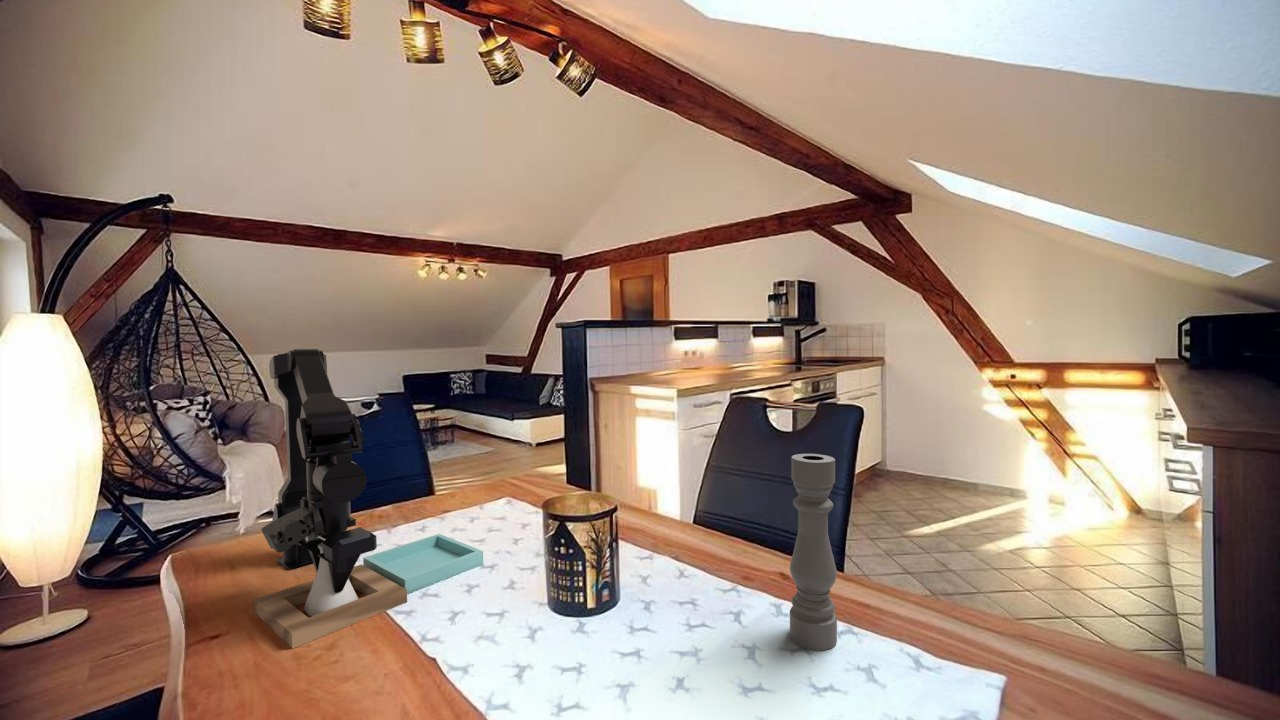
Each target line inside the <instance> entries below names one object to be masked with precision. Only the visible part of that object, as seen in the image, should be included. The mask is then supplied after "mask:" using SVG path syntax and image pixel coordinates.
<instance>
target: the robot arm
mask: <svg viewBox="0 0 1280 720" xmlns="http://www.w3.org/2000/svg"><path fill="white" fill-rule="evenodd" d="M327 362H328V361H327V355H326V354H324V352H323V350H320V349H318V348H294V349H292V350H288V351H287V352H285V353H277V355H273V356H272V357H271V358H270V360H269V366H268V367H269V378H270V379H271V380H273V385H274V388H275V389H274V390H276V391H277V392H278V393H279V395H280V396H281V397H282V399H283V400H284V407H285V408H284V409H285V411H284V412H285V438H286V440H285V441H286V443H285V444H286V465H287V466H286V468H287V477H286V480H285V481H284V483H283V485H282V486H281V487H280V489H279V490H278V493H277V499H278V500H277V502H278V503H275V504H274V507H273V508H274V509H273V514H272V521H271V522H270V523H268V524H266V525H264V526H263V527H262V528H261V529H260V530H261V533H262V535H263V536H264V539H265V540H266V541H267V544H268V546H269V548H271V549H273V550H275V552H276V553H283V556H282V557H279V558H276V562H277V563H279V565H281V566H282V567H284V568H286V569H287V570H293V569H296V568H299V567H303V566H307V565H309V564H313V566H314V569H315V572H316V573H317V571H318V568H319V562H320V558H322V559H324V560H325V561H327V562H328V565H329V570H330V575H331V581H332V585H333V590H334V592H335V593H338V592H341V591H342V590H343V589H344V587H345V584H346V582H347V580H348V578H349V576H350V574H351V572H352V570H353V568H354V567H355V566H356V563H358V560H359V558H360V556H361V555H362V554H366V553H369V552H373V551H375V550H376V549H377V548H378V547H377V546H378V544H377V535H375V533H373V532H371V531H369V530H367V529H365V528H363V527H356V525H357V519H356V518H354V517H352V516H351V502H352V501H355V500H356V499H357V498H358V497H359V496H361V495H362V493H364V490H365V488H366V486H367V483H368V482H367V481H368V477H367V473H366V472H365V470H364V469H363V467H362V466H360V465H359V464H357V463H356V462H354V461H353V454H355V453H363V449H364V448H363V446H364V444H365V438H364V434H363V431H362V428H361V424H360V420H359V419H358V418H357V416H356V414H355V413H352V411H351V408H350V407H349V404H348V402H347V401H346V400H344V399H342V398H340V397H338V396H336V395H335V393H334V389H333V387H332V384H331V382H330V379H329V376H328V366H327V365H328V364H327ZM350 439H351V440H350ZM350 441H351V442H350ZM351 527H354V528H352V529H348V528H351ZM355 527H356V528H355ZM321 543H322V545H323V553H321V554H320V549H319V548H318V545H319V544H321Z"/></svg>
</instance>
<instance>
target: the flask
mask: <svg viewBox="0 0 1280 720" xmlns="http://www.w3.org/2000/svg"><path fill="white" fill-rule="evenodd" d="M318 548H319V549H320V554H321V553H323V545H322V543H321V544H319V545H318ZM313 580H314V583H313V585H312V588H311V591H310V593H309V596H308V598H307V601H306V602H305V603H304V606H303V609H304V611H305V613H306V614H307V616H311V617H312V616H315V615H317V614H320V613H323V612H325V611H328V610H331V609H333V608H336V607H339V606H341V605H344V604H347V603H349V602H352V601H355V600H357V599H359V597H358V596H357V593H356V591H355V588H353V587H352V585H351V583H350V581H349V578H348V580H347V582H346V584H345V587H344V589H343V590H342V591H341V592H338V593H335V592H334V590H333V585H332V581H331V575H330V570H329V565H328V562H327V561H325V560H324V559H322V558H320V562H319V568H318V571H317V572H316V574H315V577H314V579H313Z"/></svg>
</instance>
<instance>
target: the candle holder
mask: <svg viewBox="0 0 1280 720" xmlns="http://www.w3.org/2000/svg"><path fill="white" fill-rule="evenodd" d="M790 461H791V467H790V471H791V473H790V474H791V475H790V476H791V479H790V480H792V482H793V483H792V485H793V486H794V488H795V491H796V493H797V494H798V495H797V496H796V497H795V498H794V499H793V500H792V503H793V506H794V508H796V510H797V511H798V515H797V517H798V518H797V520H798V521H797V522H798V523H797V524H798V525H797V526H798V527H797V528H798V529H797V535H796V539H795V542H794V548H793V553H792V557H791V560H790V564H789V572H790V575H791V578H792V579H793V582H794V583H795V587H796V590H797V591H796V592H795V594H794V595H793V596H792V598H791V604H792V606H791V608H790V610H789V636H790V639H791V641H793V642H794V643H795V644H796V645H798V646H800V647H802V648H804V649H807V650H811V651H819V652H820V651H827V650H832V649H833V648H835V647H836V645H837V643H838V616H837V615H836V613H835V609H836V606H835V603H834V601H833V600H832V598H831V596H829V595H830V593H831V589H832V588H833V586H834V584H835V583H836V580H837V576H838V574H837V572H838V571H837V566H836V562H835V557H834V554H833V550H832V545H831V541H830V537H829V520H828V519H829V513H830V511H832V510H833V509H834V503H833V502H832V500H831V499H830V498H828V497H829V496H830V494H831V491H832V490H833V489H834V486H833V485H834V484H835V483H836V459H835V458H834V457H833V456H829V455H825V454H819V453H799V454H798V453H796V454H794V455H792V456H791V459H790Z"/></svg>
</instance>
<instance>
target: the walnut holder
mask: <svg viewBox="0 0 1280 720" xmlns="http://www.w3.org/2000/svg"><path fill="white" fill-rule="evenodd" d="M314 580H315V579H311V580H309V581H306V582H302V583H300V584H297V585H293V586H291V587H288V588H284V589H281V590H279V591H275V592H272V593H268V594H266V595H265V594H264V595H263V596H259V597H257V598H253V612H254V614H255V615H256V616H257V617H259V618H260V619H261V620H262V621H263V622H264V623H265V624H266V625H267V626H268V627H269V628H270V629H271V630H272V631H273V632H274V633H275V634H277V636H278V637H280V639H282V640H283V642H284V643H286V644H287V645H288V646H289V647H290V648H291V649H296V648H297V647H300V646H302V645H305V644H307V643H310V642H312V641H315V640H317V639H320V638H322V637H325V636H327V635H330V634H333V633H334V632H337V631H339V630H342V629H344V628H347V627H349V626H351V625H355V624H357V623H359V622H361V621H364V620H368V619H369V618H371V617H374V616H376V615H378V614H381V613H384V612H386V611H388V610H391V609H393V608H395V607H396V608H397V607H399V606H401V605H403V604H406V603H408V594H407V589H405V588H403V587H401V586H399V585H398V584H396V583H394V582H392V581H390V580H389V579H387V578H385V577H383V576H381V575H380V574H378V573H376V572H374V571H372V570H371V569H369V568H367V567H365V566H363V564H358V565H355V566H354V568H353V570H352V572H351V574H350V576H349V581H350V583H351V585H352V587H353V589H354V590H357V591H358V592H359V593H361V594H363V595H364V596H363V597H361V598H358V599H357V600H355V601H352V602H349V603H347V604H344V605H341V606H339V607H336V608H333V609H331V610H328V611H325V612H323V613H320V614H317V615H315V616H312V615H311V616H309V617H308V615H305V614H304V613H303V612H302V611H300V610H299V608H297V606H299V605H302V604H305V603H306V601H307V598H308V596H309V593H310V591H311V588H312V585H313V583H314Z"/></svg>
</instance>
